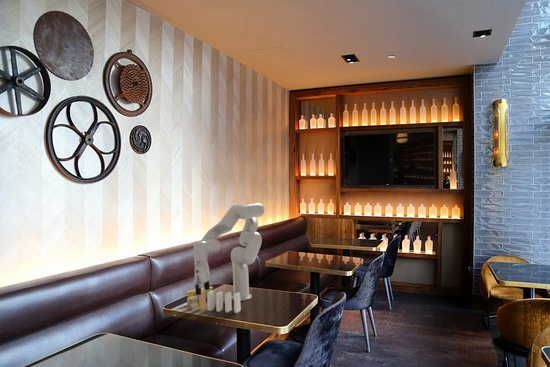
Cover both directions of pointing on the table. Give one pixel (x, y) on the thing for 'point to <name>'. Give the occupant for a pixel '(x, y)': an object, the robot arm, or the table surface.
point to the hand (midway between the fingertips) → (202, 292)
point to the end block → (192, 302)
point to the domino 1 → (202, 300)
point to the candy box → (193, 293)
